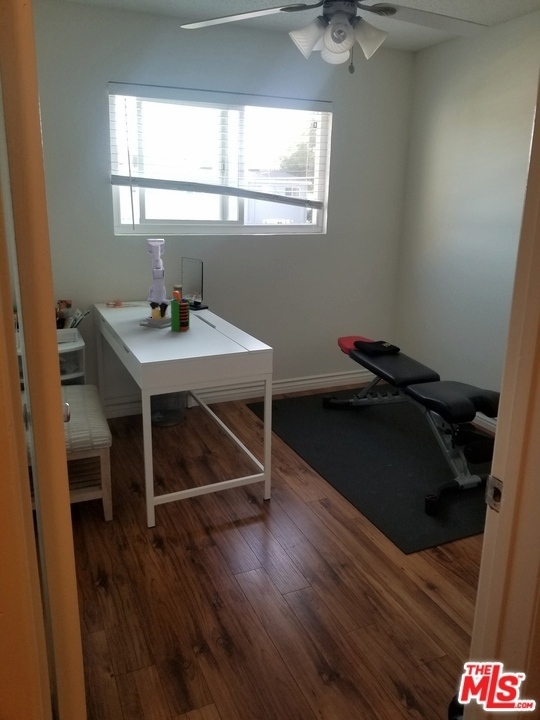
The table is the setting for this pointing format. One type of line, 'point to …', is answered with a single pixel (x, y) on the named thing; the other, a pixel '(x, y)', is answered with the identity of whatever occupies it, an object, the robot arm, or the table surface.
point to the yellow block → (158, 314)
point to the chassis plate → (158, 322)
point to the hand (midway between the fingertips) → (159, 316)
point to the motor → (179, 313)
